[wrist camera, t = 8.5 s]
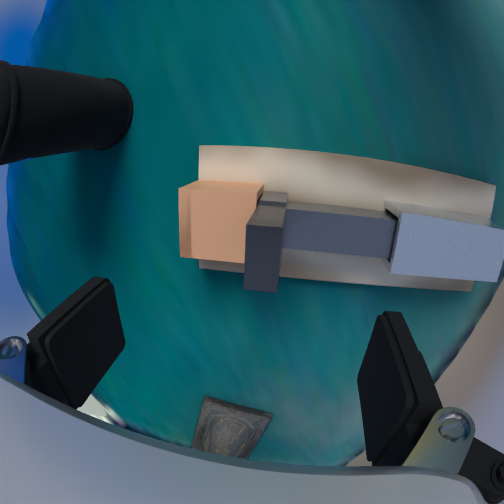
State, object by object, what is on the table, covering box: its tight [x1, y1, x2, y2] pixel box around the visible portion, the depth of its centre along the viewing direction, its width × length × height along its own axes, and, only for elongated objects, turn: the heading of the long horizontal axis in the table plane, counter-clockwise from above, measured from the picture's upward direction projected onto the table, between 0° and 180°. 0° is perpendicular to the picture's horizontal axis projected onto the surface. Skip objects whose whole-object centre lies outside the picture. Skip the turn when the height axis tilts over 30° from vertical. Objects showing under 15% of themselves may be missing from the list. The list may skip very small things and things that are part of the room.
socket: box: [179, 180, 264, 263], centre depth 25 cm, size 6×6×5 cm
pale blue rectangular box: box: [381, 200, 504, 282], centre depth 23 cm, size 5×12×5 cm, turn 87°
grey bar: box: [243, 191, 398, 293], centre depth 21 cm, size 4×16×10 cm, turn 87°
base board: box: [199, 145, 496, 292], centre depth 27 cm, size 12×30×2 cm, turn 87°
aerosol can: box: [0, 60, 133, 165], centre depth 18 cm, size 8×8×20 cm
